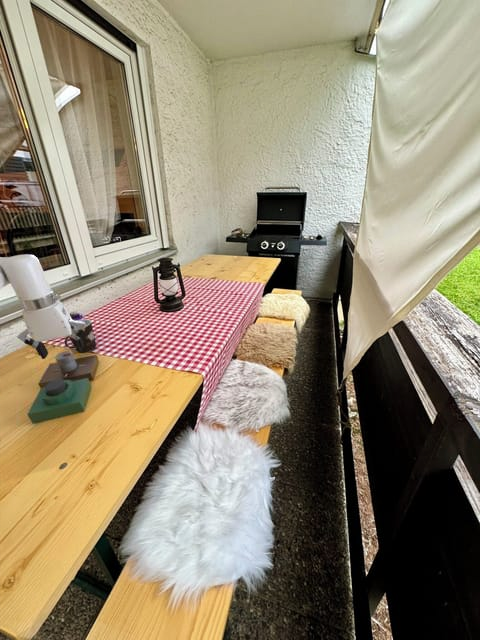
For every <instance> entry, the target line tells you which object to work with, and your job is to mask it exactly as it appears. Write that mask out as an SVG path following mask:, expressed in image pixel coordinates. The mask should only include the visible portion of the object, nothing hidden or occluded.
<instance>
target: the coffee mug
mask: <svg viewBox="0 0 480 640" xmlns="http://www.w3.org/2000/svg"><path fill="white" fill-rule="evenodd" d="M76 321H80V322H85V323H86V326H85V331H84V333H83V334H82V336H81V339H82V341H83V343H84V347H83V348H82V351H81V352H78V350H77V348H76V345H75V343H74V340H75V339H73V338H71V337H69V336H67V337H65V339H64V345H65V347H66V348H69V349H75V350H76V351H77V352H78V353H79V354H85V353H89V352H92V351H94V350H95V349H96V348H97V341H96V337H95V332H94V329H93V323H92V320H91V319H90V318H82V319H80V320H76ZM78 328H79V327H77V326H75V328H74V330H76V329H78ZM79 330H80V329H78V330H76V331H78V332H79ZM68 339H69V340H70V342H71V343H72V345H73V346H70V345H68Z"/></svg>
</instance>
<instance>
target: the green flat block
mask: <svg viewBox="0 0 480 640" xmlns="http://www.w3.org/2000/svg"><path fill="white" fill-rule="evenodd" d="M64 381H65V383H66V385H67V389H66V390H65V391H64V392H62V393H60V394H58V395H55V396H49V395H48V393H47V392H46V390H45V387H43V388H40V390H39V392H38V394H36V395H37V396H35V397H36V398H35V399H34V401H33V403H32V405H31V407H30V409H29V410H28V412H27V417H28V419H29V420H30V421H31V423H32V424H33V425H35V424H39V423H43V422H47V421H52V420H55V419H60V418H63V417H67V416H73V415H76V414H77V415H78V414H80V413H85V411H86V408H87V404H88V401H89V398H90V395H91V390H92V388H93V387H92V384H91V381H89V379H88V378H86V379H81V380H76V381H70V380H64ZM34 423H35V424H34Z"/></svg>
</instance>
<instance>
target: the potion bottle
mask: <svg viewBox="0 0 480 640" xmlns="http://www.w3.org/2000/svg"><path fill="white" fill-rule="evenodd" d="M69 315H70V317H71V319H72V320H75V321H76V320H80V319H84V316H83V314H82V312H81V313H80V311H78V310H77V311H76V310H75V311H71V312H70V313H69ZM78 329H80V328H78ZM78 329H76V330H78Z"/></svg>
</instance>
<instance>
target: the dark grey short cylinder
mask: <svg viewBox="0 0 480 640" xmlns="http://www.w3.org/2000/svg"><path fill="white" fill-rule="evenodd" d="M66 389H67V385H66V383H65V381H64V380H63V379H57V380H54V381H51V382H50V383H48V384H47V385H46V387H45V390H46V392H47V393H48V395H49V396H55V395H58V394H60V393H62V392H64V391H65V390H66Z"/></svg>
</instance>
